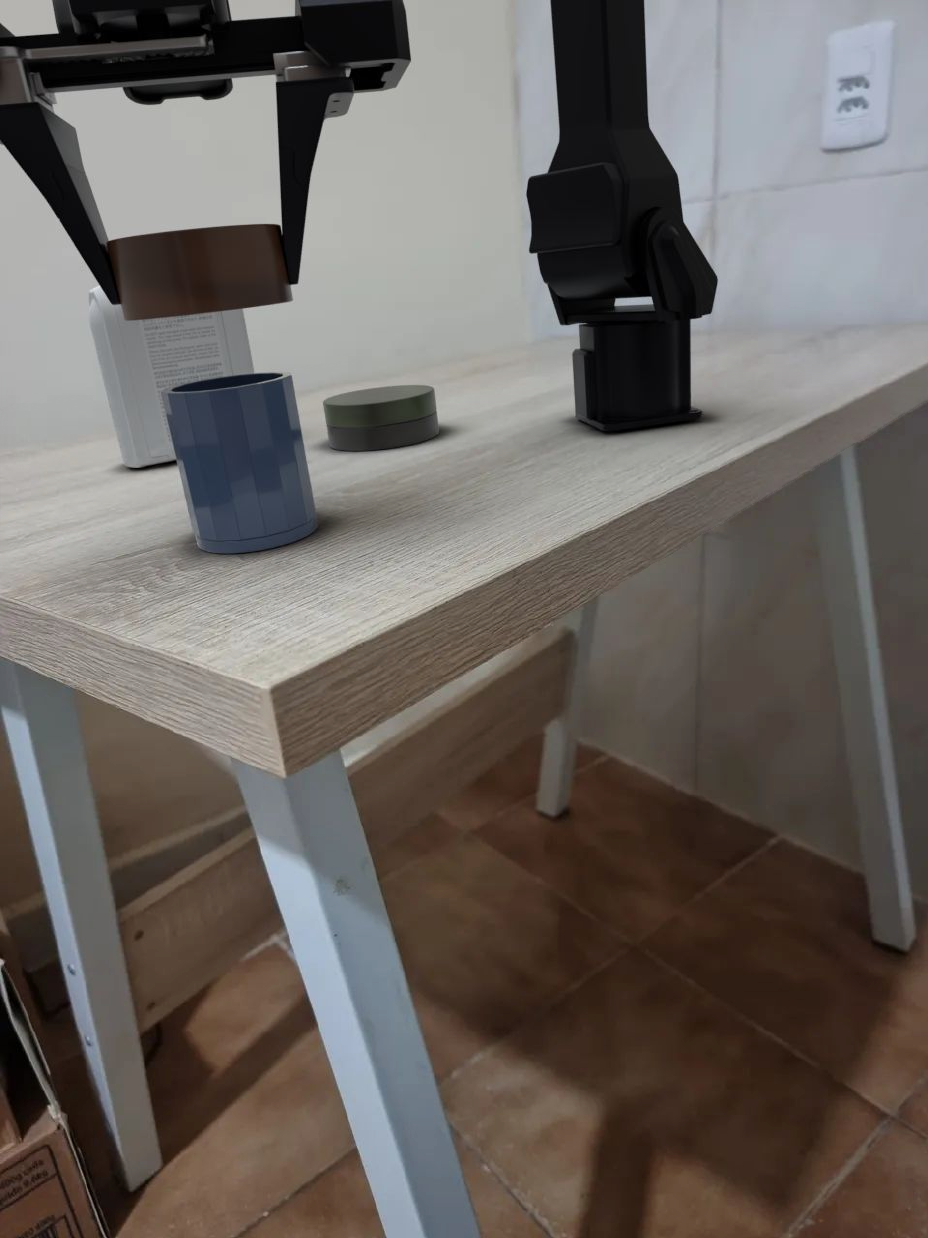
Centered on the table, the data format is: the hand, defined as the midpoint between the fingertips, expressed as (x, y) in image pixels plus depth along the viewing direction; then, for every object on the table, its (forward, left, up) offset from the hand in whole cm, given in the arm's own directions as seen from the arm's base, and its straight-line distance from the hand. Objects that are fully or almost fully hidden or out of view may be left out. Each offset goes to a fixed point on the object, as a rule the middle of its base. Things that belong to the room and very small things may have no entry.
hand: (207, 294), depth 37 cm
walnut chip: (0, 0, -1) cm, 1 cm away
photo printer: (+5, -24, -11) cm, 27 cm away
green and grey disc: (-8, -20, -11) cm, 24 cm away
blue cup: (0, 0, -11) cm, 11 cm away
